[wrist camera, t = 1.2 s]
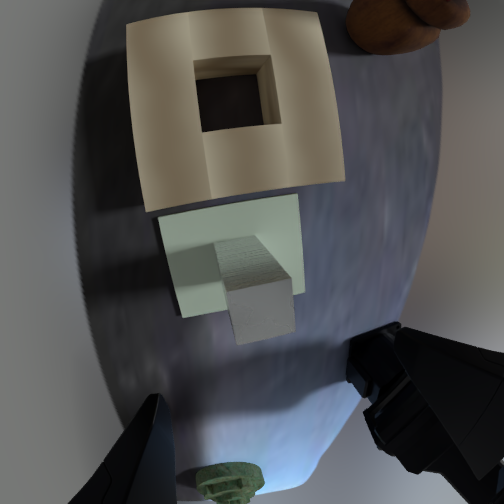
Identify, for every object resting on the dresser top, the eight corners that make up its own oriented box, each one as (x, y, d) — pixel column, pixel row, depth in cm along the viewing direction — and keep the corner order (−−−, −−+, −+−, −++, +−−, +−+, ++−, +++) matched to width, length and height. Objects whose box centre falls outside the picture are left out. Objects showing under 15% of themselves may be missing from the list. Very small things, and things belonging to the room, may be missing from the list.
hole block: (296, 34, 16) (317, 12, 12) (318, 177, 20) (345, 180, 16) (137, 47, 14) (126, 24, 10) (156, 202, 18) (146, 211, 14)
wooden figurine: (351, 65, 17) (501, 10, 3) (323, 11, 15) (438, -76, 1) (403, 60, 18) (532, 31, 4) (379, 11, 16) (490, -41, 2)
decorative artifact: (203, 488, 32) (262, 479, 33) (208, 521, 25) (272, 512, 27) (187, 465, 28) (258, 455, 30) (191, 506, 22) (270, 495, 23)
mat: (295, 193, 20) (297, 193, 20) (303, 290, 23) (305, 292, 22) (158, 216, 18) (157, 217, 18) (182, 315, 21) (182, 317, 21)
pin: (254, 235, 20) (291, 278, 12) (259, 273, 21) (295, 331, 13) (213, 242, 19) (225, 292, 12) (220, 281, 20) (236, 345, 13)
